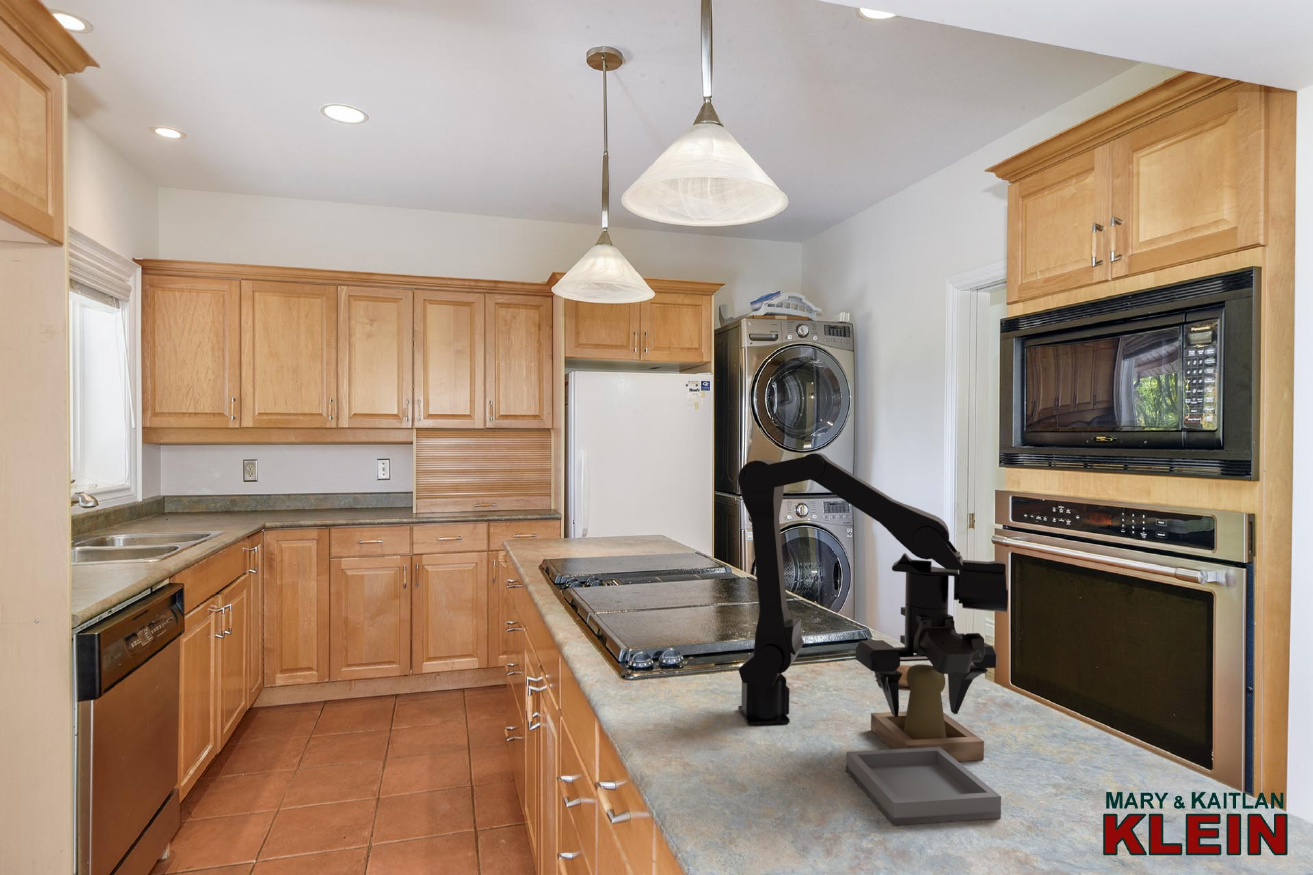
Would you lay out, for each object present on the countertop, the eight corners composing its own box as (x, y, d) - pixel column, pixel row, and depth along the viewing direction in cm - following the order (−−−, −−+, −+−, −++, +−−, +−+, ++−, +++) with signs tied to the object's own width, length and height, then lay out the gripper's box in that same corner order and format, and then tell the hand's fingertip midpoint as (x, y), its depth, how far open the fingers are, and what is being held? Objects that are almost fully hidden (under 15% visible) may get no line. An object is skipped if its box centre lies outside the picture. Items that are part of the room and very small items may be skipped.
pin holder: (907, 763, 95) (907, 744, 95) (870, 729, 105) (871, 712, 105) (983, 759, 96) (984, 741, 96) (939, 726, 107) (940, 709, 107)
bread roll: (931, 679, 130) (932, 659, 130) (945, 696, 121) (945, 674, 121) (871, 676, 131) (872, 656, 131) (881, 692, 123) (881, 671, 123)
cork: (951, 755, 97) (953, 675, 97) (905, 751, 98) (906, 671, 98) (943, 737, 103) (944, 661, 103) (899, 733, 104) (900, 658, 104)
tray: (893, 825, 79) (894, 802, 79) (846, 770, 92) (846, 751, 92) (1000, 817, 81) (1001, 796, 81) (939, 765, 94) (939, 746, 94)
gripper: (891, 620, 91) (889, 741, 92) (1024, 617, 94) (1022, 735, 94) (854, 600, 102) (853, 708, 103) (974, 598, 105) (972, 703, 105)
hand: (924, 714), depth 101 cm, fingers open, 9 cm apart
